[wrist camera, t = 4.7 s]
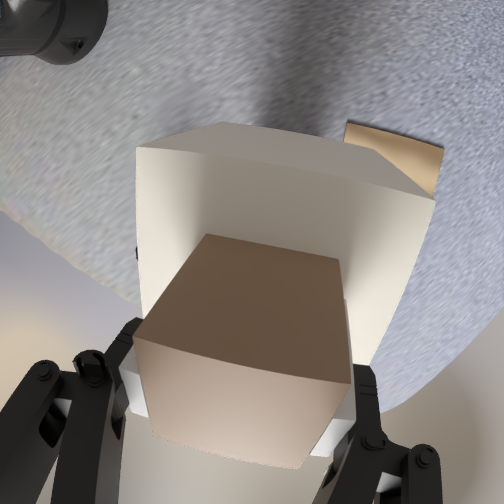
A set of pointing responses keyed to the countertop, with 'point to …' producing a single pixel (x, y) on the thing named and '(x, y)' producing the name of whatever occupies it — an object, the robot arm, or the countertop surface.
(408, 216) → the cover
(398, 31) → the countertop surface
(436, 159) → the plate
